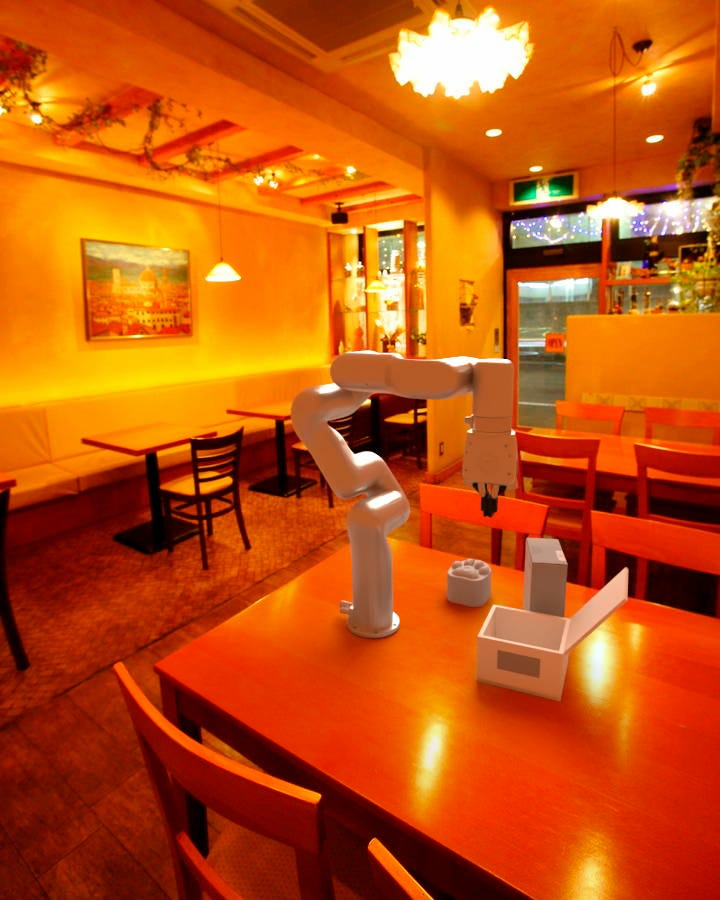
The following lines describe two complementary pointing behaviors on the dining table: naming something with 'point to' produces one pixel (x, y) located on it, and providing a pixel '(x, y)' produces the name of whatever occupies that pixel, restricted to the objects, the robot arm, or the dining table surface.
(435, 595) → the dining table surface
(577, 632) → the lid flap
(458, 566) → the lumpy-topped squat cylinder
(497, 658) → the carton
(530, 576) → the hard drive box
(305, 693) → the dining table surface
